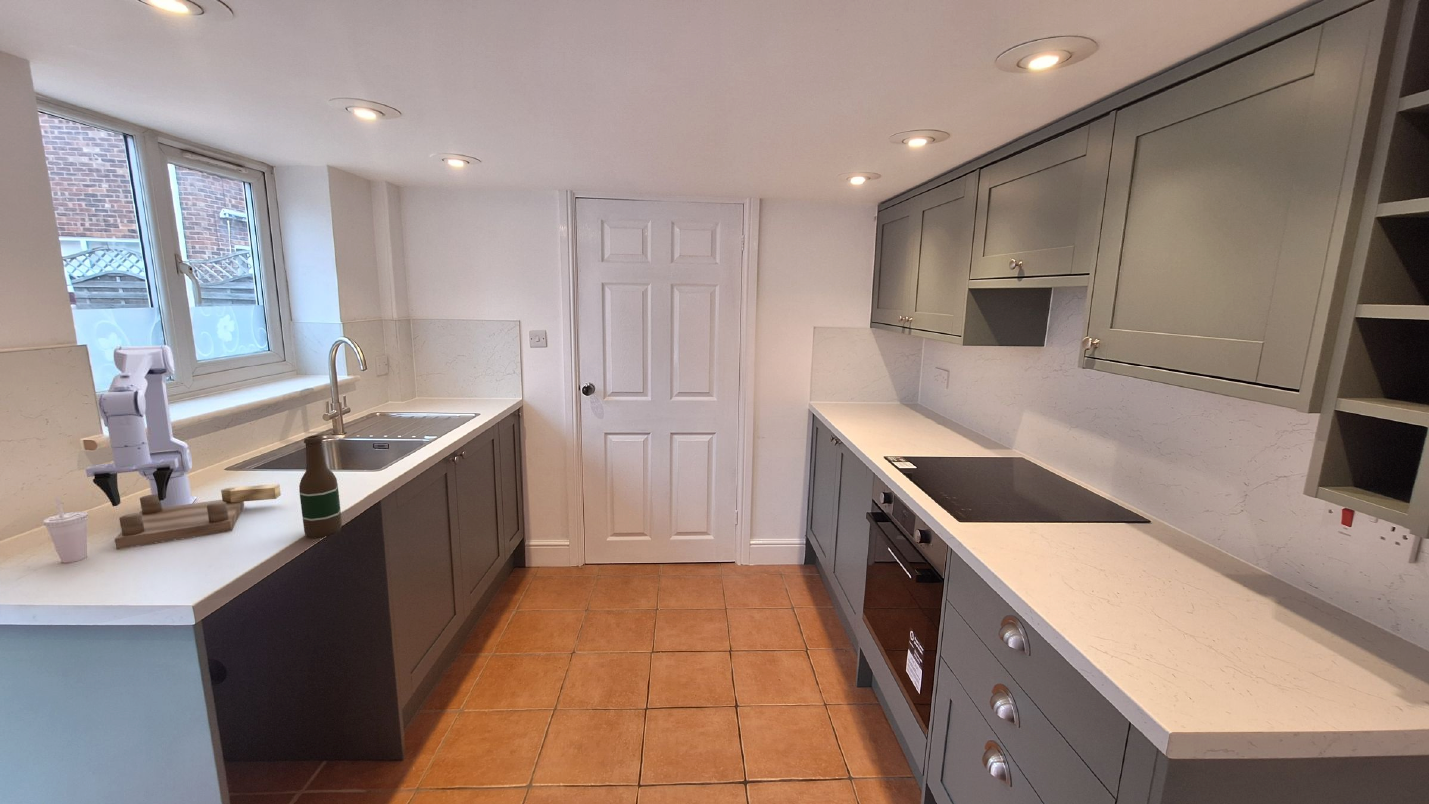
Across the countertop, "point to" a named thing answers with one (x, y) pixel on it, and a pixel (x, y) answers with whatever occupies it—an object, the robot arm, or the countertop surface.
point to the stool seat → (175, 521)
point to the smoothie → (68, 534)
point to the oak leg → (251, 493)
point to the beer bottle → (319, 493)
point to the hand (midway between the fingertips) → (140, 501)
